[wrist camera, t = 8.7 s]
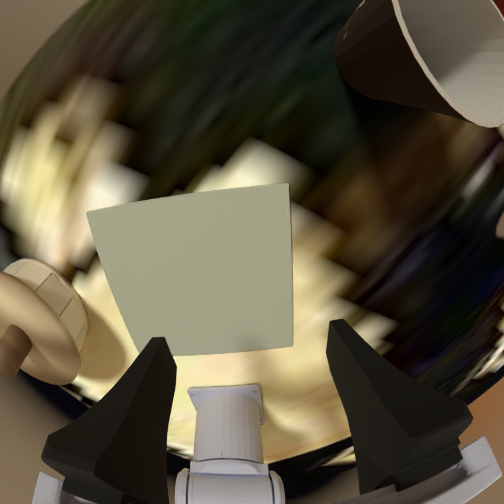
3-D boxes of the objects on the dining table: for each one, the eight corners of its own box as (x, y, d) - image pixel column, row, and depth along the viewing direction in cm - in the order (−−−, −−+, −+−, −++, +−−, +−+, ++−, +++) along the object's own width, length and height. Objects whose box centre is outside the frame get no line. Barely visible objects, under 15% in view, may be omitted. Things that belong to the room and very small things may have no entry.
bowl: (104, 346, 25) (90, 378, 21) (36, 341, 25) (21, 367, 21) (62, 251, 20) (34, 279, 16) (-4, 262, 20) (-28, 284, 16)
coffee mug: (341, 126, 17) (433, 140, 8) (298, 15, 13) (351, -59, 4) (456, 102, 15) (550, 117, 7) (425, 9, 12) (508, -15, 3)
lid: (103, 385, 21) (89, 425, 17) (20, 371, 21) (4, 400, 17) (37, 264, 15) (0, 303, 11) (-36, 275, 15) (-63, 301, 11)
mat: (292, 344, 25) (292, 346, 25) (141, 353, 25) (140, 355, 25) (287, 183, 18) (288, 184, 18) (87, 211, 18) (85, 212, 18)
